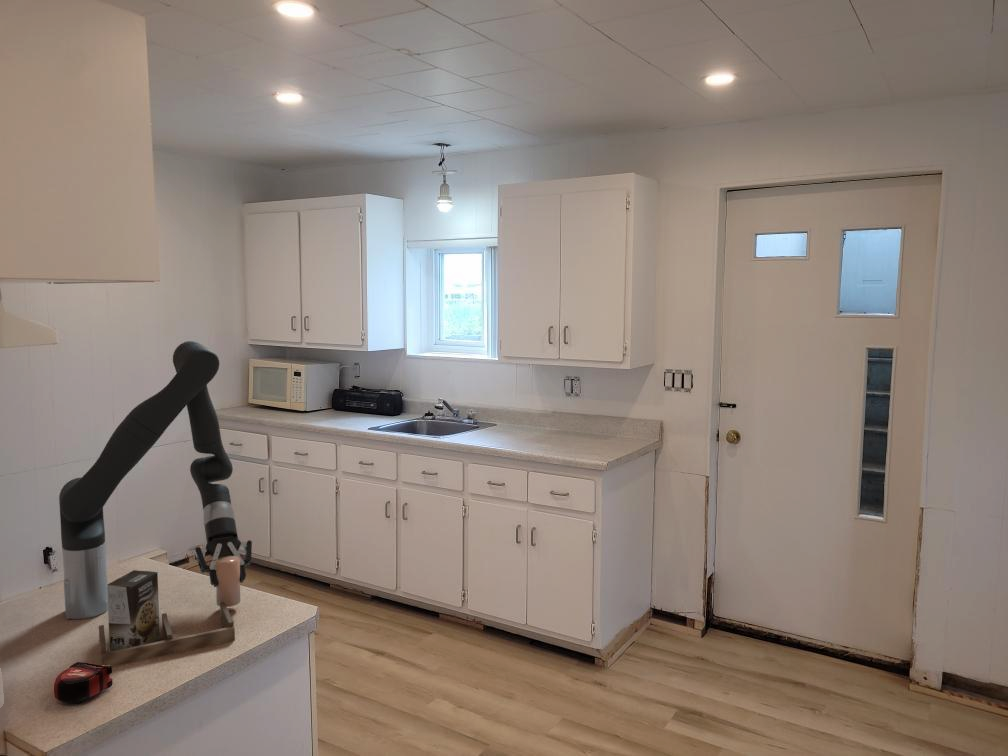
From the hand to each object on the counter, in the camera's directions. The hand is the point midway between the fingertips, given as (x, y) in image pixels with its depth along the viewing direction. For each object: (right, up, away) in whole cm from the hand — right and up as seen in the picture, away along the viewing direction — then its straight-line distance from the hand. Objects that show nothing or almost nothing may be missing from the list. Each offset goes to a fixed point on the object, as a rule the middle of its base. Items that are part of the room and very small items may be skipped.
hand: (229, 583), depth 185 cm
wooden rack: (-9, -9, -15) cm, 19 cm away
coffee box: (-15, -10, -17) cm, 25 cm away
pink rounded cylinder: (-1, -5, +1) cm, 5 cm away
